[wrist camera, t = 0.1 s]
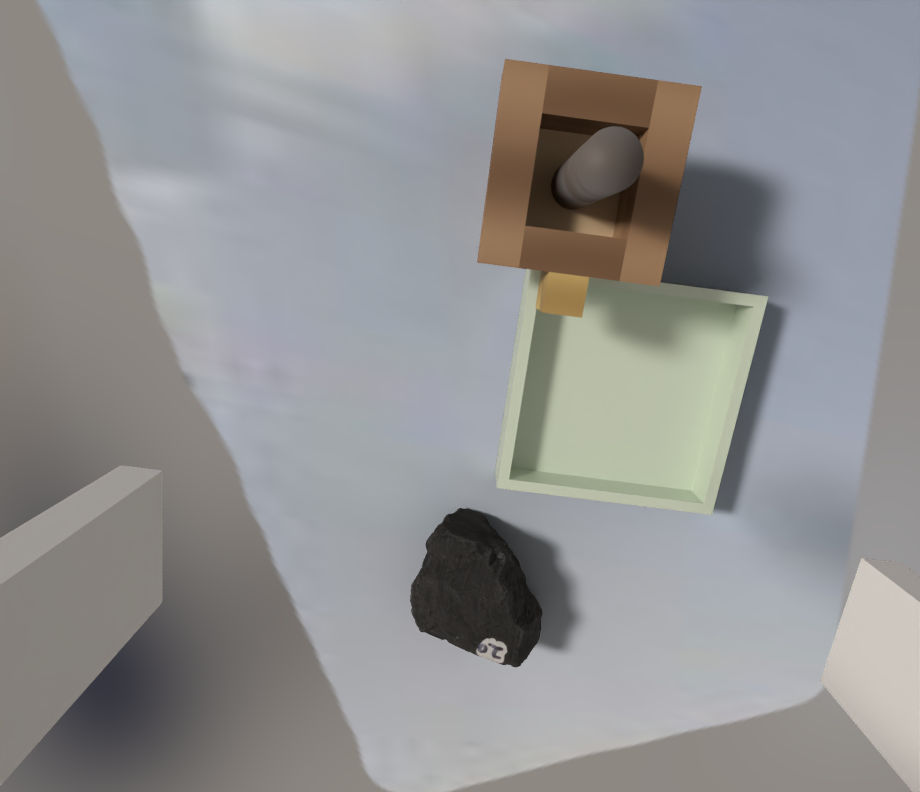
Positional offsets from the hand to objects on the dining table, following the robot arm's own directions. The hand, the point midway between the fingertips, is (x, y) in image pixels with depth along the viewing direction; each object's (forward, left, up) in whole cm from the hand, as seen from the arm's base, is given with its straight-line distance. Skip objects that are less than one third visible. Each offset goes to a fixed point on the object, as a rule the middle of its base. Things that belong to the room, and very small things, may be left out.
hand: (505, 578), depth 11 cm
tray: (+1, +10, -28) cm, 29 cm away
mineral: (+17, +2, -28) cm, 33 cm away
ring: (-10, +4, -22) cm, 24 cm away
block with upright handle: (-10, +4, -28) cm, 30 cm away
